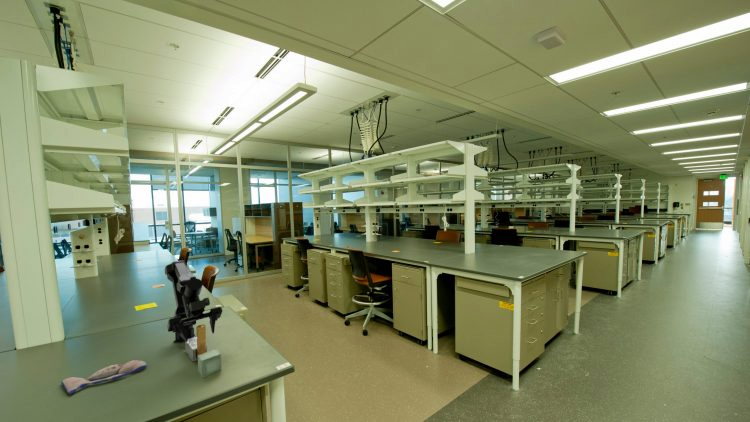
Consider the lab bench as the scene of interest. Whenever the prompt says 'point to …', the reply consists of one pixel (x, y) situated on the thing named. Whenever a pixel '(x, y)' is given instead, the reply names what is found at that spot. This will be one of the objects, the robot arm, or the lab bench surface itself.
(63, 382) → the anatomical model
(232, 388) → the lab bench surface
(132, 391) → the lab bench surface
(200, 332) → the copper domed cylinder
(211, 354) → the green socket
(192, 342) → the aluminium sleeve
